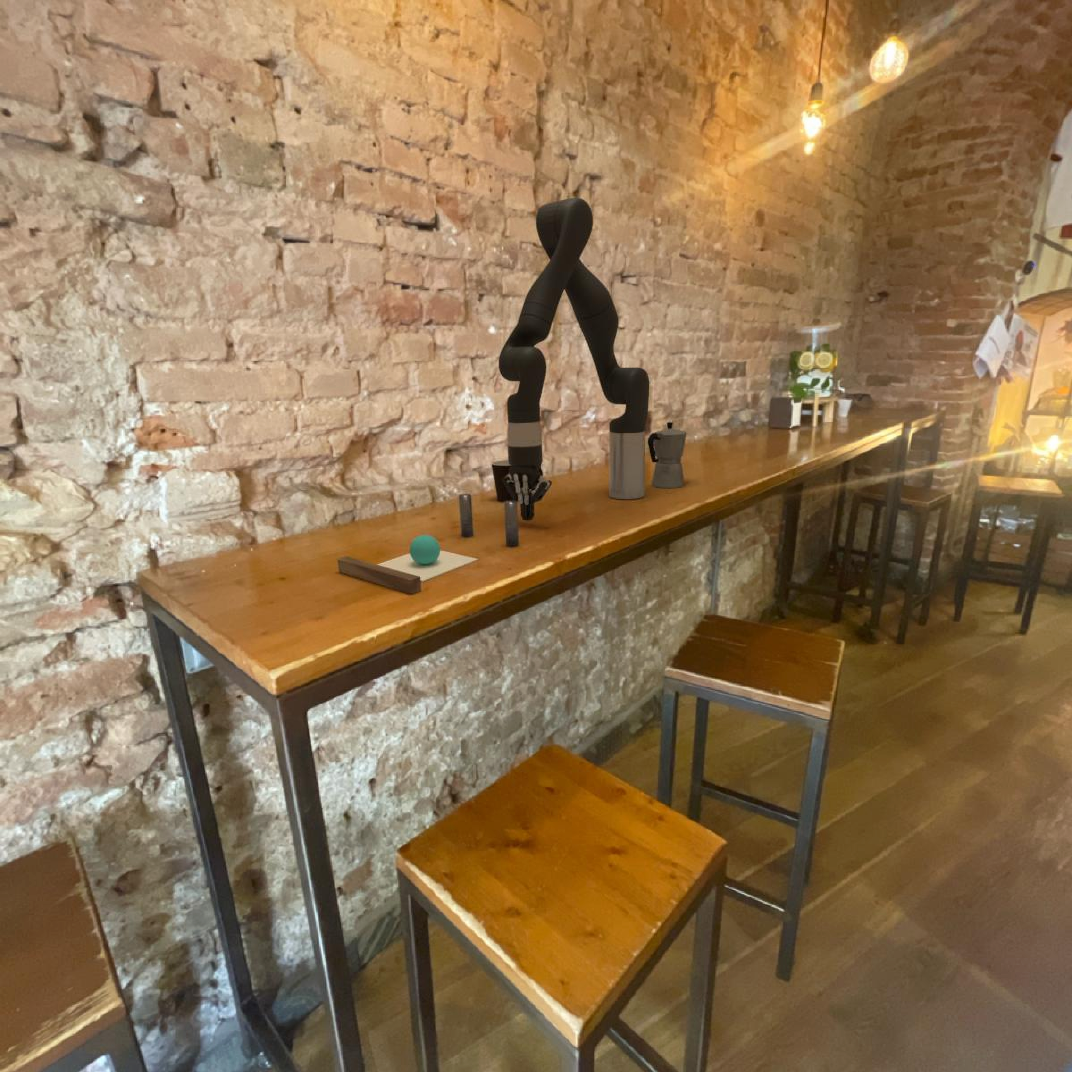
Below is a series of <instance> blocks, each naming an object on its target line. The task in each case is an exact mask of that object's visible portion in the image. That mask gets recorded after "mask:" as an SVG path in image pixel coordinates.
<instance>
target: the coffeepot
mask: <svg viewBox="0 0 1072 1072" xmlns="http://www.w3.org/2000/svg"><path fill="white" fill-rule="evenodd" d="M673 424H674V423H673V422H672V421H669V422H666V425H667V428H665V429H662V430H661V429H660V430H658V431H655V432H652V433H651V434H650V435H649V436H648V438H647V445H648V450H649V455H650V459H651V462H652V463H655V466H654V470H653V476H652V480H651V486H653V487H654V486H655V488H657V487H658V488H659V489H667V488H668V489H669V490H670V489H678V488H679V489H680V488H683V487H684V485H685V479H684V478H685V477H684V471H683V470H684V469H683V465H682V464H683V463H681V461H682V457H683V456H684V455H683V454H684V450H685V449H684V448H685V444H686V440H687V439H686V437H687V434H688V432H686V431H683V430H679V429H675V428H673ZM682 486H683V487H682Z"/></svg>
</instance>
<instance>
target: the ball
mask: <svg viewBox="0 0 1072 1072" xmlns="http://www.w3.org/2000/svg"><path fill="white" fill-rule="evenodd" d="M440 550H441V547H440V543H439V541H438V540H437V539H436V538H435V537H434V536H431V535H428V534H421V535H419V536H416V537H415V538H414V539H413V540H412V542H411V543H410V546H409V553H410V555H411V557H412V559H413V560H414V561H415V562H416V563H418V564H421V565H429V564H431V563H433V562H435V561H436V560H437V558H438V557H439V554H440Z"/></svg>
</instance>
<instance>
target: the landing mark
mask: <svg viewBox="0 0 1072 1072" xmlns="http://www.w3.org/2000/svg"><path fill="white" fill-rule="evenodd" d="M476 561H479V559H478V558H474V557H471V556H466V555H462V554H458V553H453V552H449V551H445V550H442V549H440V554H439V557H438V558H437V560H436V561H435V562H433V563H431V564H429V565H421V564H418V563H416V562H415V561H414V560H413V559H412V557H411V555H410V552H409V553H407V554H403V555H401V556H397V557H394V558H392V559H389V560H386V561H384V562H381V563H377V564H376V565H380V566H383V567H387V568H391V569H394V570H398V571H401V572H405V573H409V574H412V575H416V576H419V577H420V581H421V582H422V583H423V582H426V581H428V580H431V579H433V578H436V577H439V576H441V575H443V574H446V573H449V572H451V571H454V570H456V569H460V568H462V567H463V566H466V565H469V564H472V563H474V562H476Z"/></svg>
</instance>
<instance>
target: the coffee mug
mask: <svg viewBox="0 0 1072 1072" xmlns="http://www.w3.org/2000/svg"><path fill="white" fill-rule="evenodd" d="M510 467H511V465H510V464H509V463H508V459H503V460H496V461H493V462H491V468H492V475H493V476H492V477H493V480H494V482H493V483H494V487H495V493H496V499H497V501H498V502H499V503H504V502H505V501H511V500H512V501H517V500H513V499H512V497H511V495H510V494H509V492H508V490H507V489H506V487H505V485H504V484H503V482H502V478H503V477H506V476H507V475H508V474H509V470H510ZM517 502H518V501H517Z"/></svg>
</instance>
